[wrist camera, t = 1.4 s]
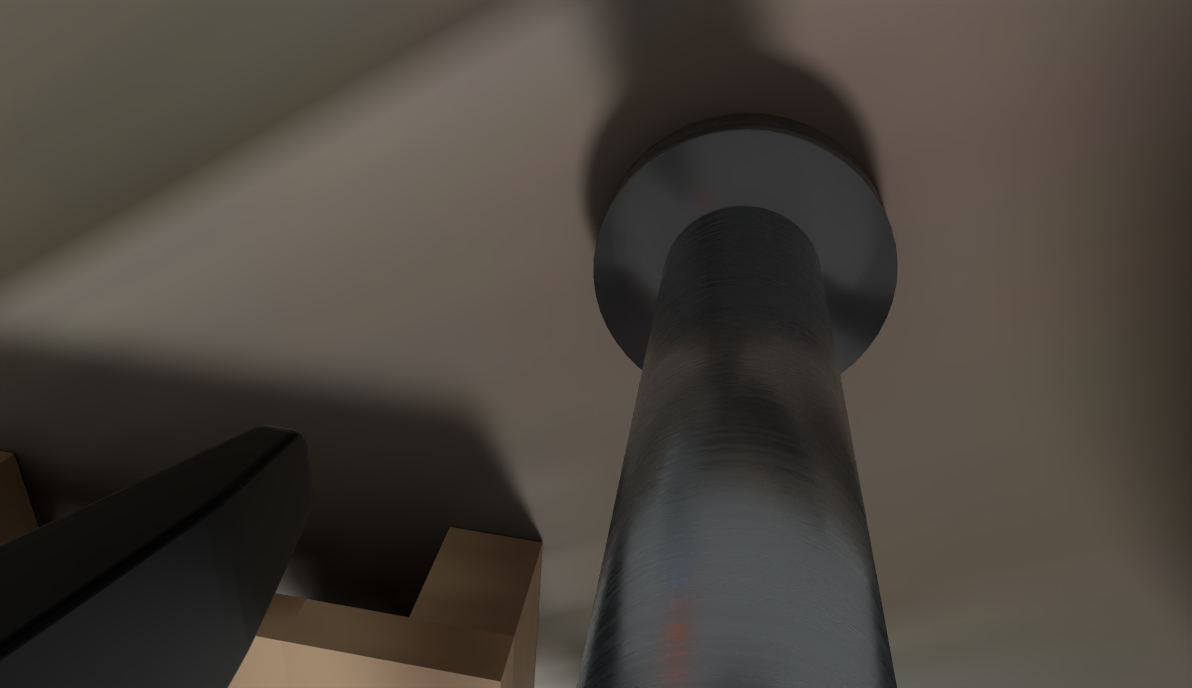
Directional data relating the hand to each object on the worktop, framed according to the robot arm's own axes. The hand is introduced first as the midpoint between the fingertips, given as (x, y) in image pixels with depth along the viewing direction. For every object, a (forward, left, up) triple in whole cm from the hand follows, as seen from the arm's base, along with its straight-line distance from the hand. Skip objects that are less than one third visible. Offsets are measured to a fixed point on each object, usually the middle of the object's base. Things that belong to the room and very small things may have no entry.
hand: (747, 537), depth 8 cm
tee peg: (0, 0, -7) cm, 7 cm away
